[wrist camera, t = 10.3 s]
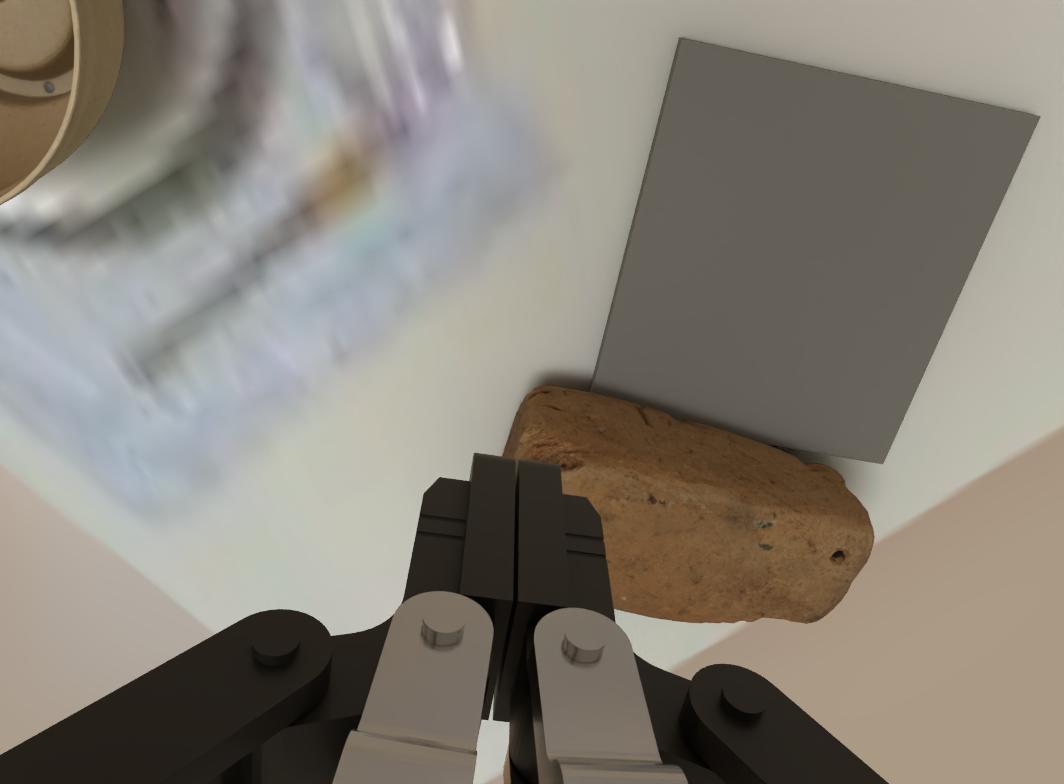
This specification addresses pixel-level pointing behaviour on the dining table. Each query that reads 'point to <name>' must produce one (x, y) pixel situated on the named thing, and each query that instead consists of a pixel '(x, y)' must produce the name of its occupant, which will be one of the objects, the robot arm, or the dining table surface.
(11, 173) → the planter bowl
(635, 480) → the block
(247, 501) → the dining table surface
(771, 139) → the flat gray panel
